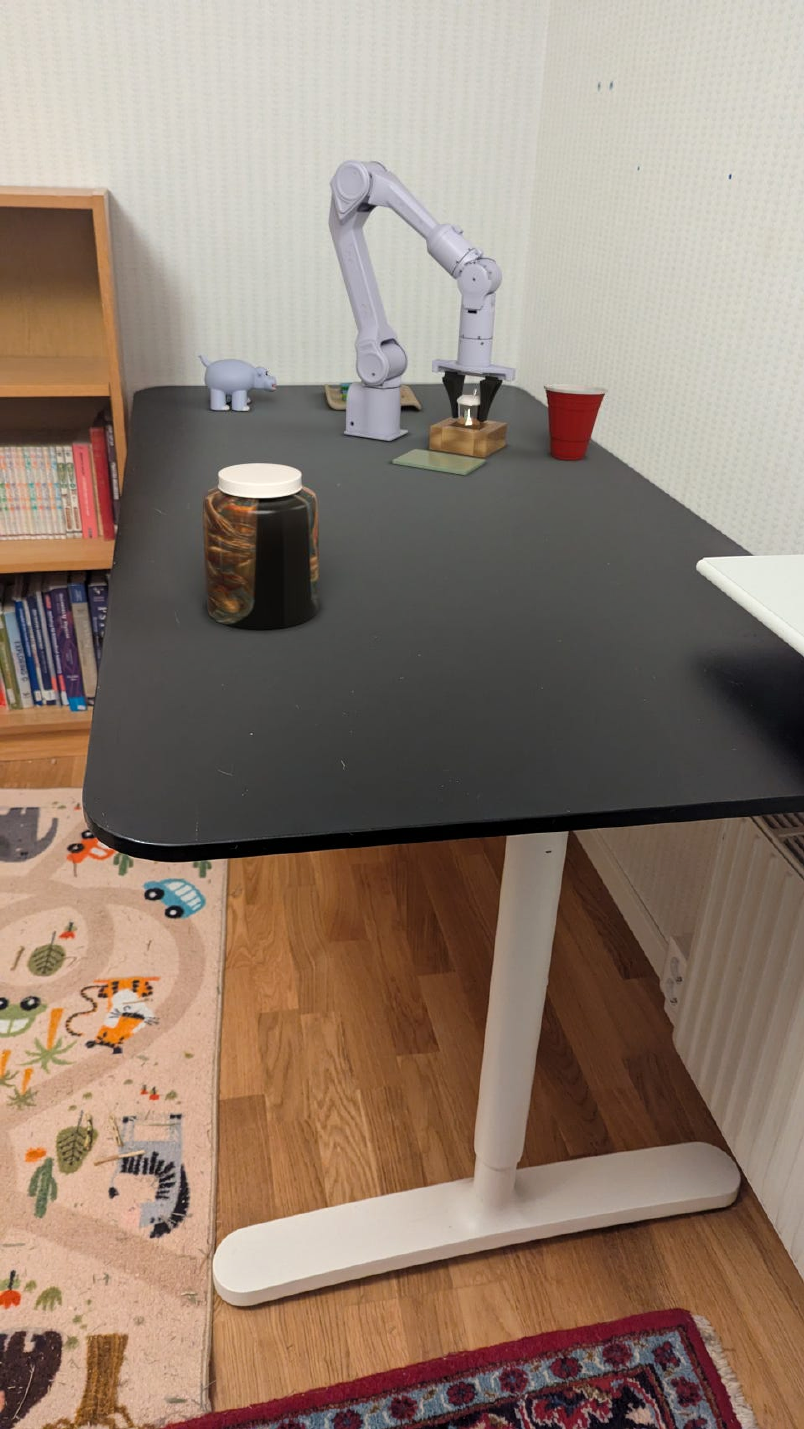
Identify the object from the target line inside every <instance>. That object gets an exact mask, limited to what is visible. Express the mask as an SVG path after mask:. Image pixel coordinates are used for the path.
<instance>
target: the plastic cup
mask: <svg viewBox="0 0 804 1429" xmlns="http://www.w3.org/2000/svg"><path fill="white" fill-rule="evenodd" d="M543 389H544V391H545V394H546V403H547V414H548V436H549V444H550V448H549V449H550V455H551V456H552V457H553V458H555V459H559V460H565V461H580V460H583V459H585V455H586V454H587V450H588V447H589V443H590V441H591V438H592V435H593V431H594V427H595V424H596V421H597V418H598V414H599V410H600V408H601V406H602V402H603V401H604V398H605V395H606V394H607V393H608V391H609V389H608V388H605V387H600V386H594V385H585V384H574V383H573V384H572V383H571V384H570V383H549V384H544V385H543Z"/></svg>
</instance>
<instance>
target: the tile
mask: <svg viewBox="0 0 804 1429" xmlns="http://www.w3.org/2000/svg"><path fill="white" fill-rule="evenodd" d="M392 464H394V465H398V466H405V467H412V468H418V469H424V470H431V471H437V472H443V473H448V474H456V475H462V476H467V475H468V474H470V473H472V472H473V471H475V470H477V469H478V468H480V467H482V466H484V465H485V464H486V459H484V458H483V459H482V458H478V457H470V456H465V455H458V454H451V453H450V454H449V453H445V452H439V451H437V452H436V451H432V450H425V449H420V448H419V449H417V448H413V449H412V450H410V451H407V452H405V453H404V454H402V455H400V456H397V457H396V458H394V459H392Z"/></svg>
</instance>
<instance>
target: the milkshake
mask: <svg viewBox="0 0 804 1429" xmlns="http://www.w3.org/2000/svg"><path fill="white" fill-rule="evenodd" d="M477 388H478V387H477V386H473V390H472V394H462V396H460V397H459V398H458V399H457V427H460V428H467V429H474V430H479V425H480V422H479V411H480V395H476V393H477Z"/></svg>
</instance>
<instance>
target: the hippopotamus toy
mask: <svg viewBox="0 0 804 1429" xmlns="http://www.w3.org/2000/svg"><path fill="white" fill-rule="evenodd" d="M197 357H198V358H199V359H200V361H201V363H202V365H203V366H204V367H205V368H206V369H205V372H204V377H203V379H204V380H203V381H204V384H205V387H206V389H207V390H209V391H210V409H211V410H213V411H229V410H230V406H229V405H228V403H231V410H233V411H235V412H248V411H250V406H249V405H248V404H249V403H251V399H250V398H249V396H248V393H250V392H252V391H253V390H254V389H256V390H257V389H258V390H264V391H266V392H269V393H274V392H276V390H277V387H276V385H277V384H278V381H277V379H276V375H269V370H268V369H267V368H266V367H265V366H264V367H263V366H261V365H258V367H254V365H253V364H252V363H249V362H246V361H245V360H241V359H238V358H237V359H236V358H223V359H219V360H215V361H212V362H211V361H208V360H207V359H206V358H205V357H204V356H203V355H201V354H198V356H197Z"/></svg>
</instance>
